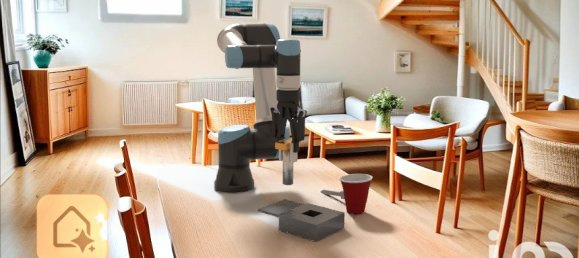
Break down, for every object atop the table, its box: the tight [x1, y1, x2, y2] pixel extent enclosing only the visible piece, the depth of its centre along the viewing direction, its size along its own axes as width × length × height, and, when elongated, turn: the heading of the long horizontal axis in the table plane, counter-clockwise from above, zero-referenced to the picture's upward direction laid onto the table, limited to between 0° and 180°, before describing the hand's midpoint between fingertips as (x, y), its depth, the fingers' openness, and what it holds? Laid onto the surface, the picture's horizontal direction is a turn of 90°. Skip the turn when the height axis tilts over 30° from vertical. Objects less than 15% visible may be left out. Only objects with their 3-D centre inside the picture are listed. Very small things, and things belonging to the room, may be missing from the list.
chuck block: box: [278, 202, 346, 243], centre depth 164 cm, size 14×14×5 cm
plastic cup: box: [338, 173, 374, 216], centre depth 180 cm, size 11×11×12 cm
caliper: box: [320, 188, 345, 200], centre depth 193 cm, size 20×1×6 cm, turn 28°
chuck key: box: [275, 138, 302, 186], centre depth 178 cm, size 8×4×14 cm, turn 140°
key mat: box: [257, 198, 305, 218], centre depth 182 cm, size 16×14×1 cm
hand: (288, 160), depth 178 cm, fingers closed on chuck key, 4 cm apart
